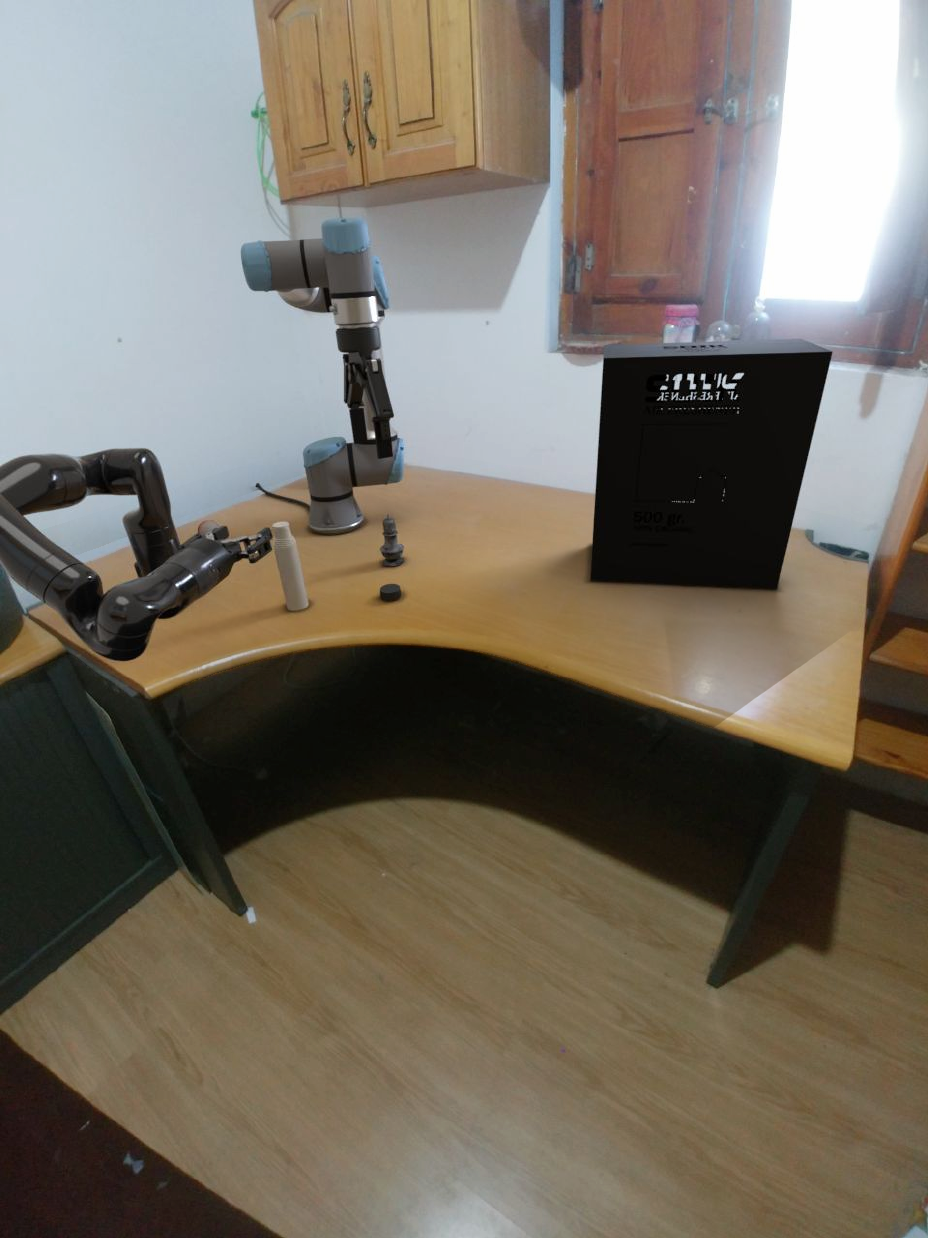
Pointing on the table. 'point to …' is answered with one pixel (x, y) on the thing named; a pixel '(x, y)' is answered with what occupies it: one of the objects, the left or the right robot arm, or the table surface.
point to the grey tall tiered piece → (391, 544)
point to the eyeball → (207, 527)
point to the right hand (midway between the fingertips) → (372, 449)
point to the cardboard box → (703, 460)
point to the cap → (390, 592)
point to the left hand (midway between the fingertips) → (247, 531)
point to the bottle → (289, 567)
